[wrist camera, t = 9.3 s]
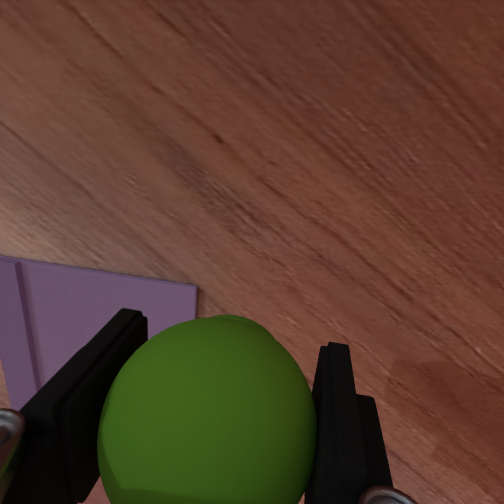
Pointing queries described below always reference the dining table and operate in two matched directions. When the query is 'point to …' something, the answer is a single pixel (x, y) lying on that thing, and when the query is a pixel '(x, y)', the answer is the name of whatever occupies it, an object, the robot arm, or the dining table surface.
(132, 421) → the green ball
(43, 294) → the purple rectangular slab
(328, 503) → the robot arm
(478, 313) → the dining table surface
